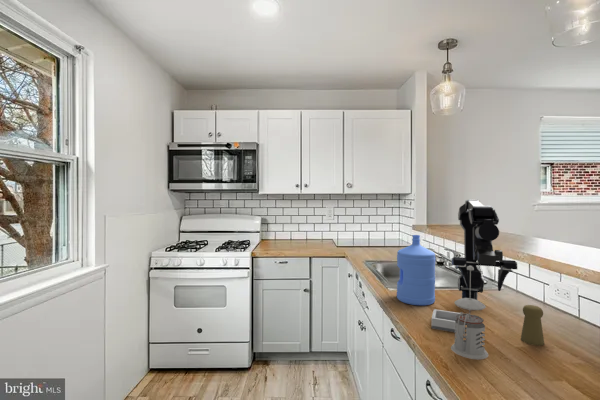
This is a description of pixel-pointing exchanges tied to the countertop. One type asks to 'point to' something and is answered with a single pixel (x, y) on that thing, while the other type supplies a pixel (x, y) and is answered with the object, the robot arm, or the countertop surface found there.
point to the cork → (532, 325)
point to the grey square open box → (444, 320)
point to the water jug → (416, 274)
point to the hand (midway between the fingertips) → (483, 289)
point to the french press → (469, 329)
